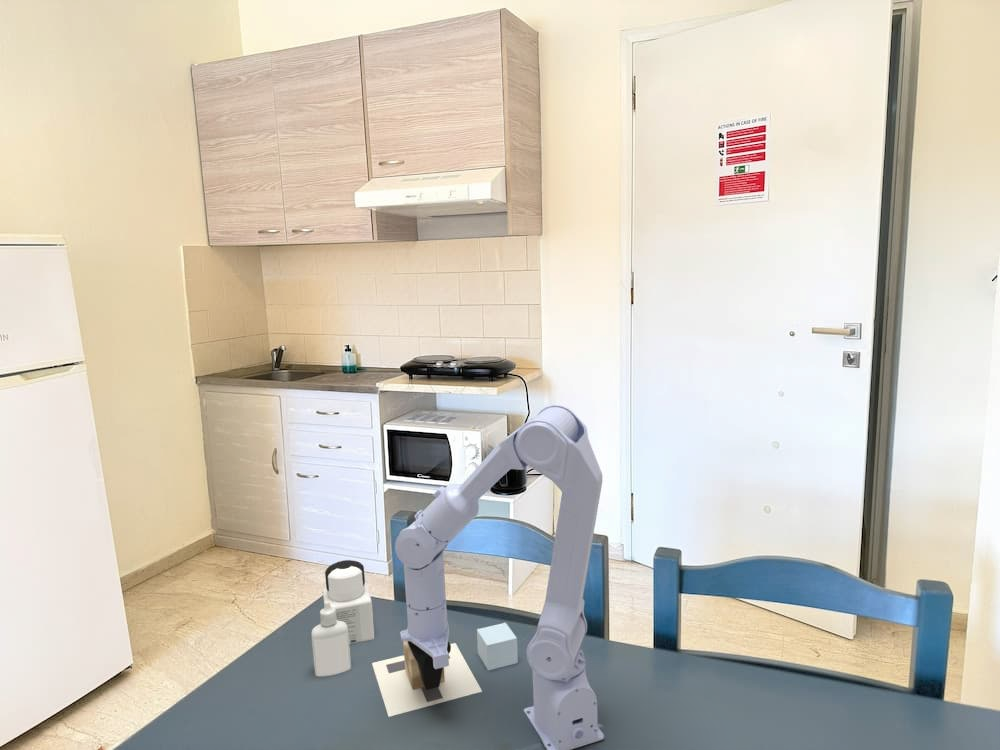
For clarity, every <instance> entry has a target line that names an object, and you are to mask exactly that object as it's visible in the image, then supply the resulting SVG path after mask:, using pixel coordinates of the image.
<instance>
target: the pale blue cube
mask: <svg viewBox="0 0 1000 750" xmlns="http://www.w3.org/2000/svg"><path fill="white" fill-rule="evenodd" d="M476 639H477V640H476V641H477V642H476V643H477V654H478V656H479V657H480V660H481V661H482V663H483V664H484V666H485V668H486V669H487V671H493V670H496V669H500V668H503V667H507V666H511V665H514V664H518V662H519V661H518V655H519V654H518V638H517V636H516V635H515V634H514V632H513V631H512V629H511V628H510V626H509V625H508V624H507V622H503V623H499V624H493V625H490V626H489V625H488V626H485V627H481V628H477V629H476Z"/></svg>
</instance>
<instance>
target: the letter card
mask: <svg viewBox="0 0 1000 750" xmlns="http://www.w3.org/2000/svg"><path fill="white" fill-rule="evenodd" d="M450 645H451V650H450V653H449V654H448V657H449V666H446V667H444V676H445V682H441V683H440V685H439V687H437V688H433V689H429V690H426V689H425V687H422V688H418V689H414V690H412V687H411V684H410V682H409V679H408V677H407V674H406V672H405V658H404V654H403V655H399V656H395V657H392V658H388V659H387V658H386V659H383V660H378V661H376V662H375V661H374V662H371V664H372V668H373V671H374V674H375V675H374V676H375V678H376V680H377V684H378V687H379V691H380V694H381V696H382V700H383V703H384V707H385V709H386V713H387V717H389V718H390V717H394V716H397V715H401V714H404V713H408V712H411V711H417V710H419V709H423V708H427V707H431V706H434V705H437V704H441V703H445V702H449V701H452V700H456V699H459V698H463V697H467V696H472V695H474V694H478V693H483V690H482V688H481V686H480V685H479V683H478V681H477V680H476V678H475V675H474V674H473V672H472V670H471V669H470V667H469V664H468V663H467V661H466V660H465V658H464V656H463V654H462V653H461V651H460V650H461V649H459V647H458V645H457V643H456V642H454V643H450Z"/></svg>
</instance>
